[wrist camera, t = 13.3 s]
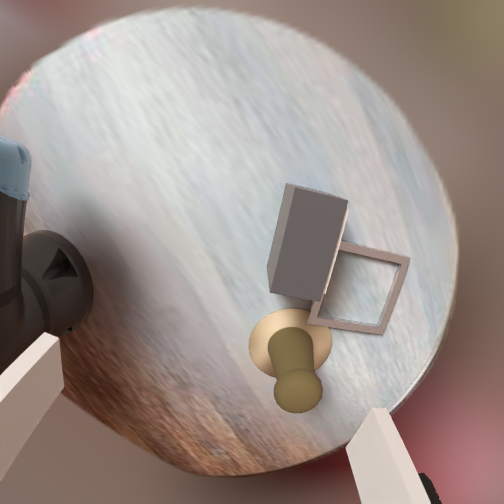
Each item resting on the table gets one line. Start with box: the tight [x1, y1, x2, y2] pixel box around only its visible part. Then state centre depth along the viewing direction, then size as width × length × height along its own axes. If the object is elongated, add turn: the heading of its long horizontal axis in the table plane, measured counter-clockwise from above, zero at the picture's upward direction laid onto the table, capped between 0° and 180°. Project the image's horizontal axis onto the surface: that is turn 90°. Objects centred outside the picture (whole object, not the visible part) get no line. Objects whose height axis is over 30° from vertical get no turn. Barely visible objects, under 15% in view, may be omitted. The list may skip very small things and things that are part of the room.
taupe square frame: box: [307, 240, 410, 335], centre depth 37 cm, size 11×11×1 cm
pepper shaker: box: [267, 327, 323, 413], centre depth 34 cm, size 6×6×11 cm
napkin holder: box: [267, 183, 349, 302], centre depth 32 cm, size 5×10×8 cm, turn 168°
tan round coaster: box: [249, 308, 332, 377], centre depth 40 cm, size 11×11×1 cm
